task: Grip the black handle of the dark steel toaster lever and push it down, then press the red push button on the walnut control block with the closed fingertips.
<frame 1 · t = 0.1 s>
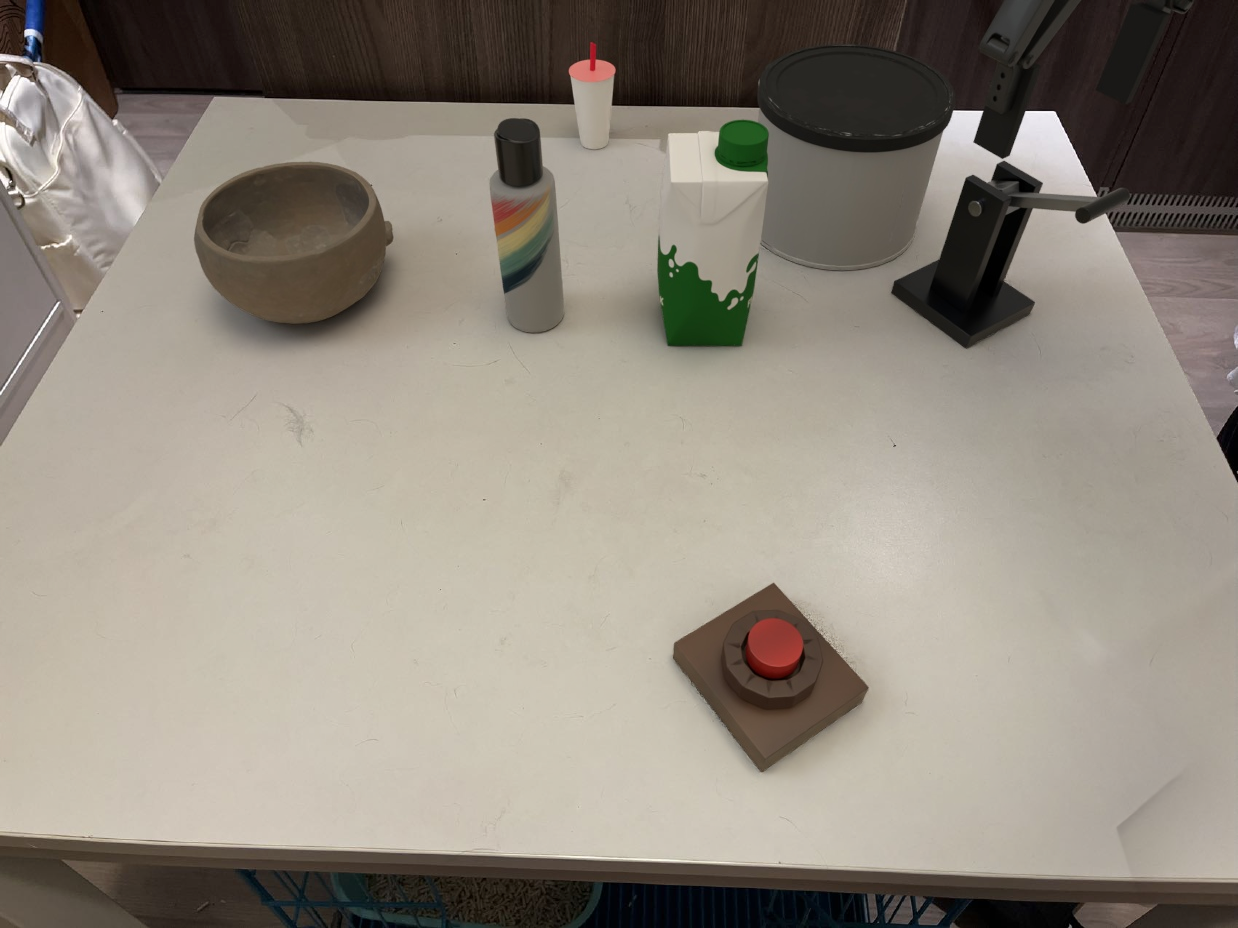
hand: (1054, 122, 66), 23 cm above the table, tool pointing down, fingers open, 13 cm apart
milk carton: (701, 323, 87), on the table
red push button: (773, 648, 59), point 4 cm above the table, slide at 0.1 cm
bowl: (313, 292, 91), on the table
control block: (766, 679, 63), on the table
toaster bracket: (959, 303, 89), on the table
lotion bottle: (536, 316, 88), on the table
container: (829, 220, 98), on the table
toaster lever: (1043, 201, 76), point 14 cm above the table, hinge at 25.0°
cup: (594, 143, 109), on the table
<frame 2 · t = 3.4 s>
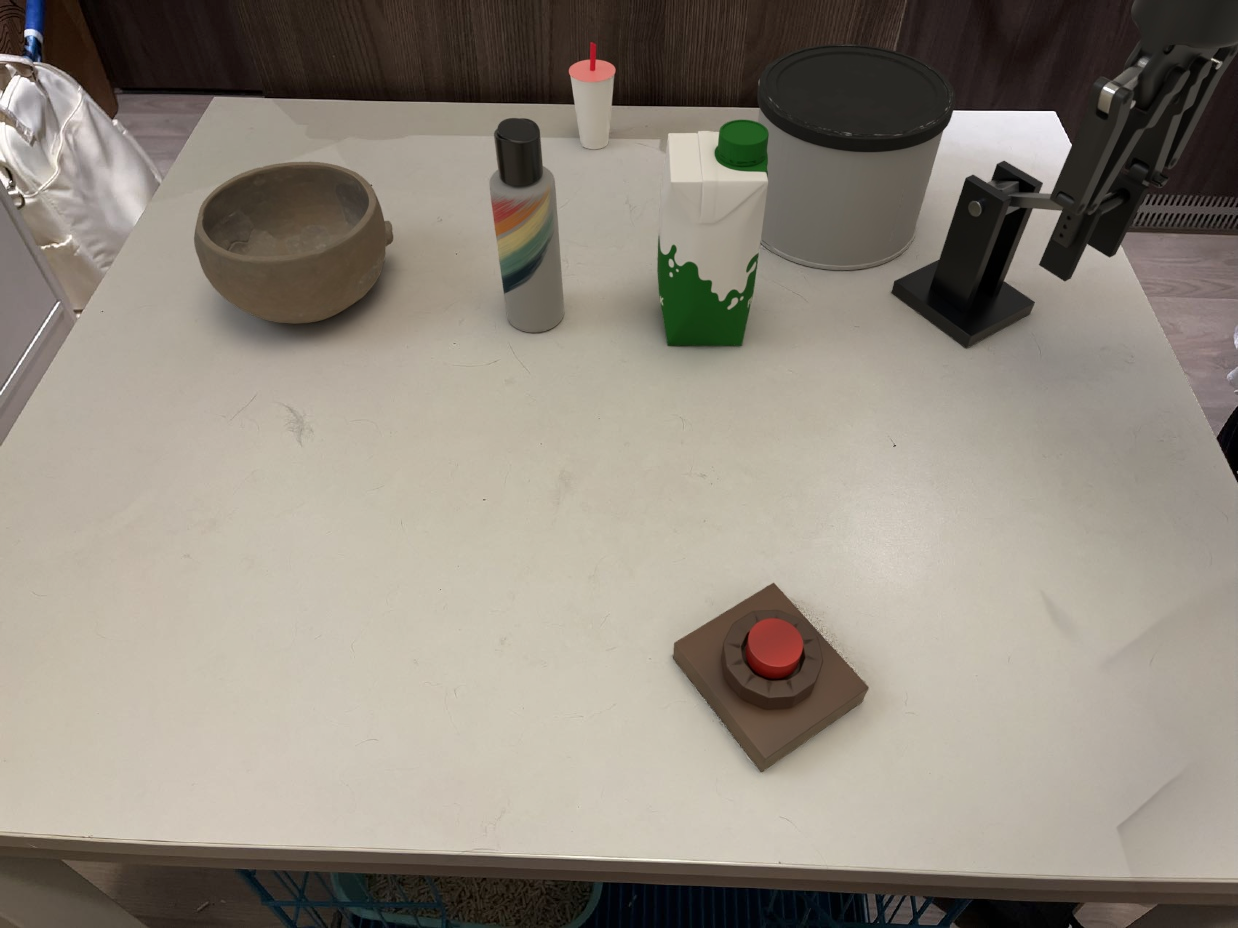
hand: (1077, 259, 75), 11 cm above the table, tool pointing down, fingers closed on toaster lever, 5 cm apart
toaster lever: (1043, 201, 76), point 14 cm above the table, hinge at 25.0°, touching gripper
everything else where it was.
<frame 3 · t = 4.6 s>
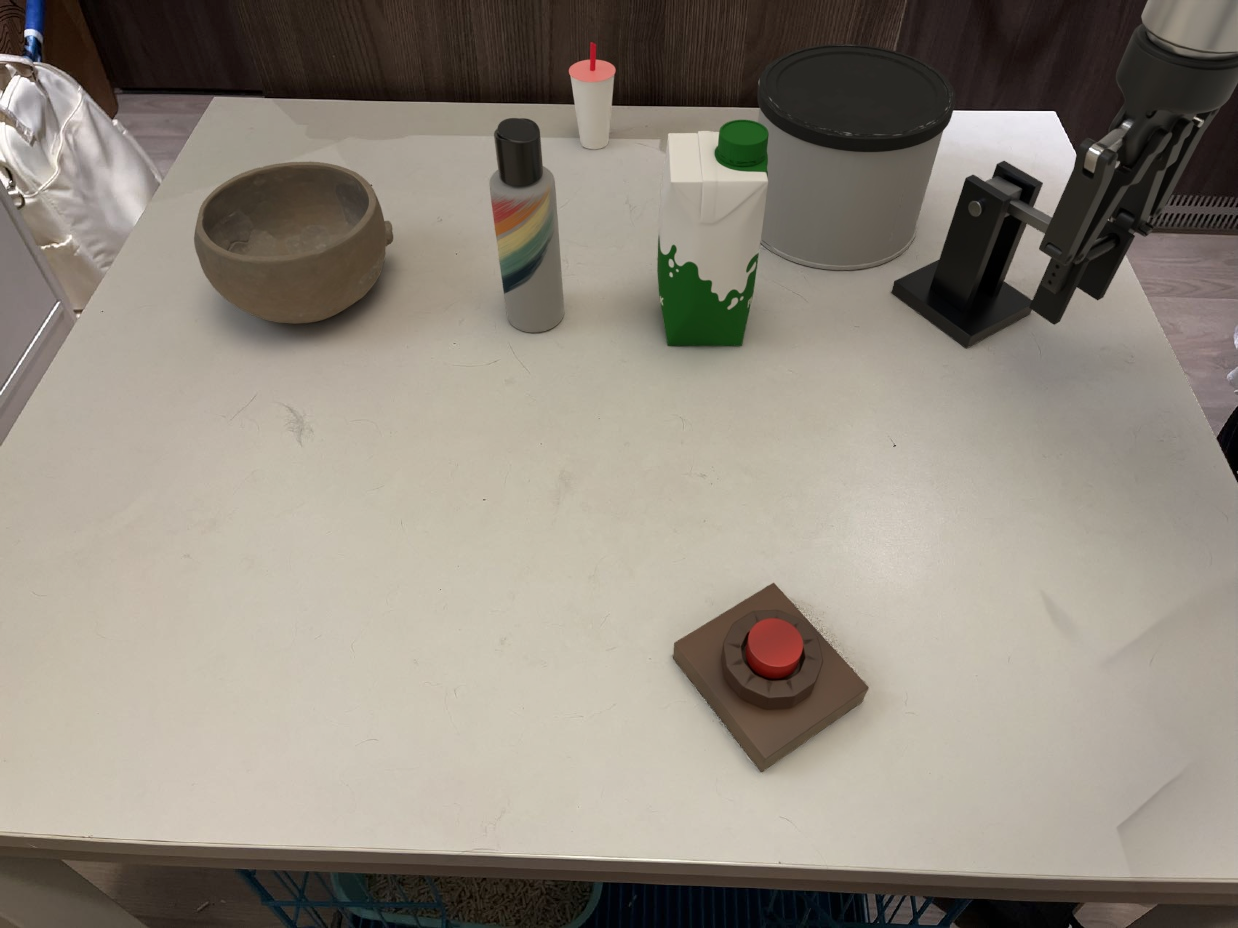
hand: (1066, 302, 78), 7 cm above the table, tool pointing down, fingers closed on toaster lever, 5 cm apart
toaster lever: (1040, 221, 77), point 12 cm above the table, hinge at 2.6°, touching gripper
everything else where it was.
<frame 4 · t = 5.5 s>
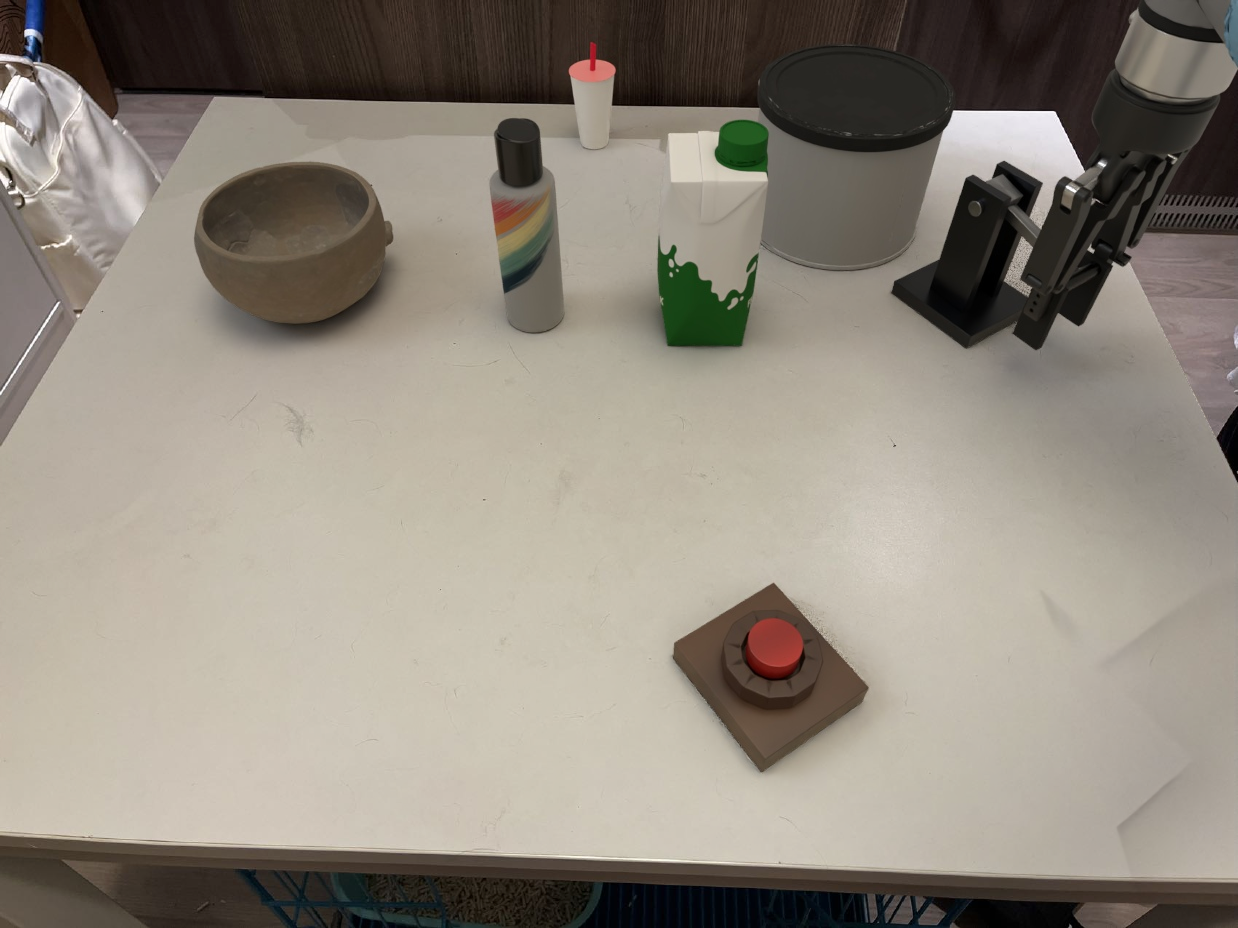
hand: (1048, 328, 81), 3 cm above the table, tool pointing down, fingers closed on toaster lever, 5 cm apart
toaster lever: (1033, 234, 78), point 11 cm above the table, hinge at -15.6°, touching gripper
everything else where it was.
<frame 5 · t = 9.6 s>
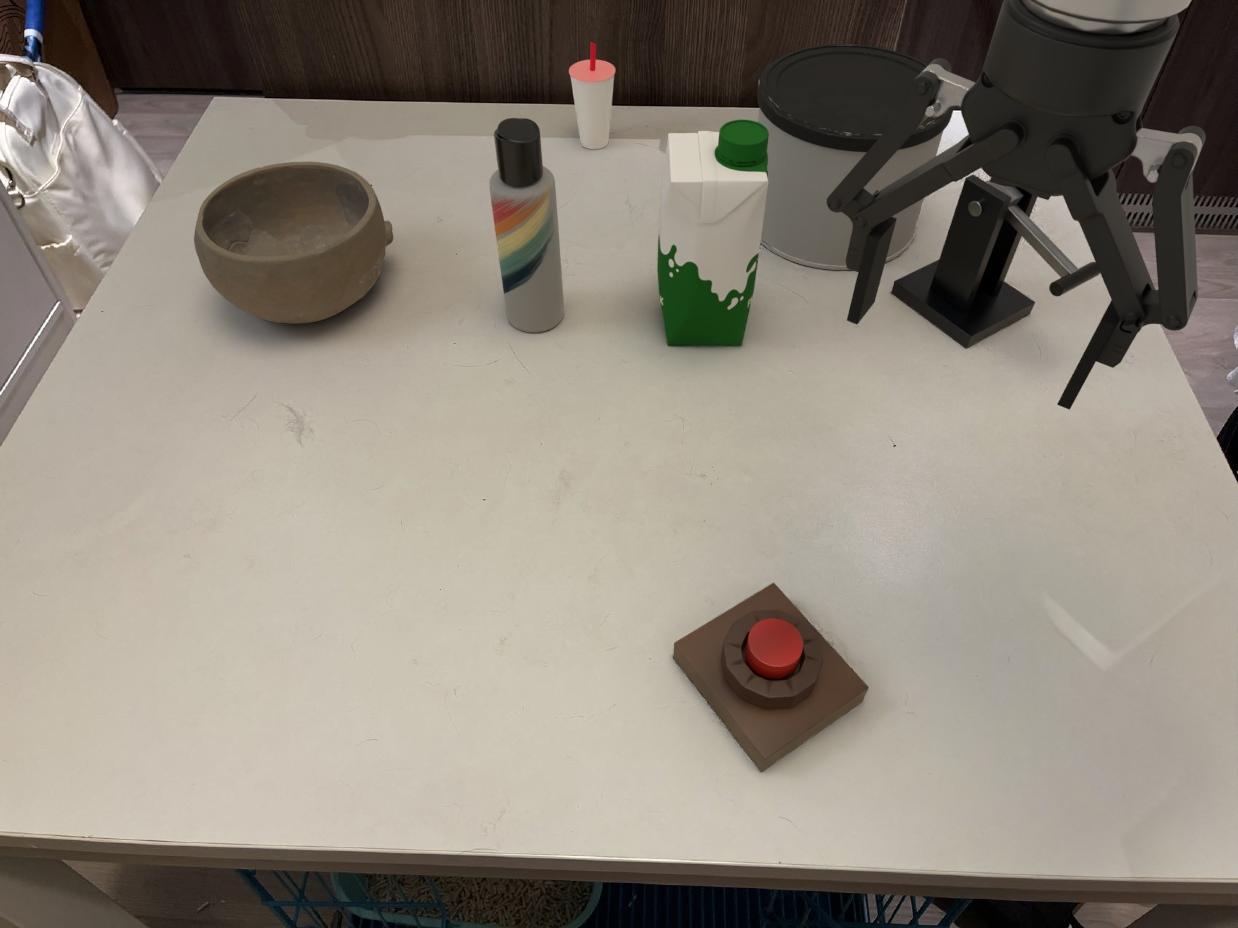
hand: (960, 351, 56), 19 cm above the table, tool pointing down, fingers open, 13 cm apart
toaster lever: (1032, 234, 78), point 11 cm above the table, hinge at -15.8°
everything else where it was.
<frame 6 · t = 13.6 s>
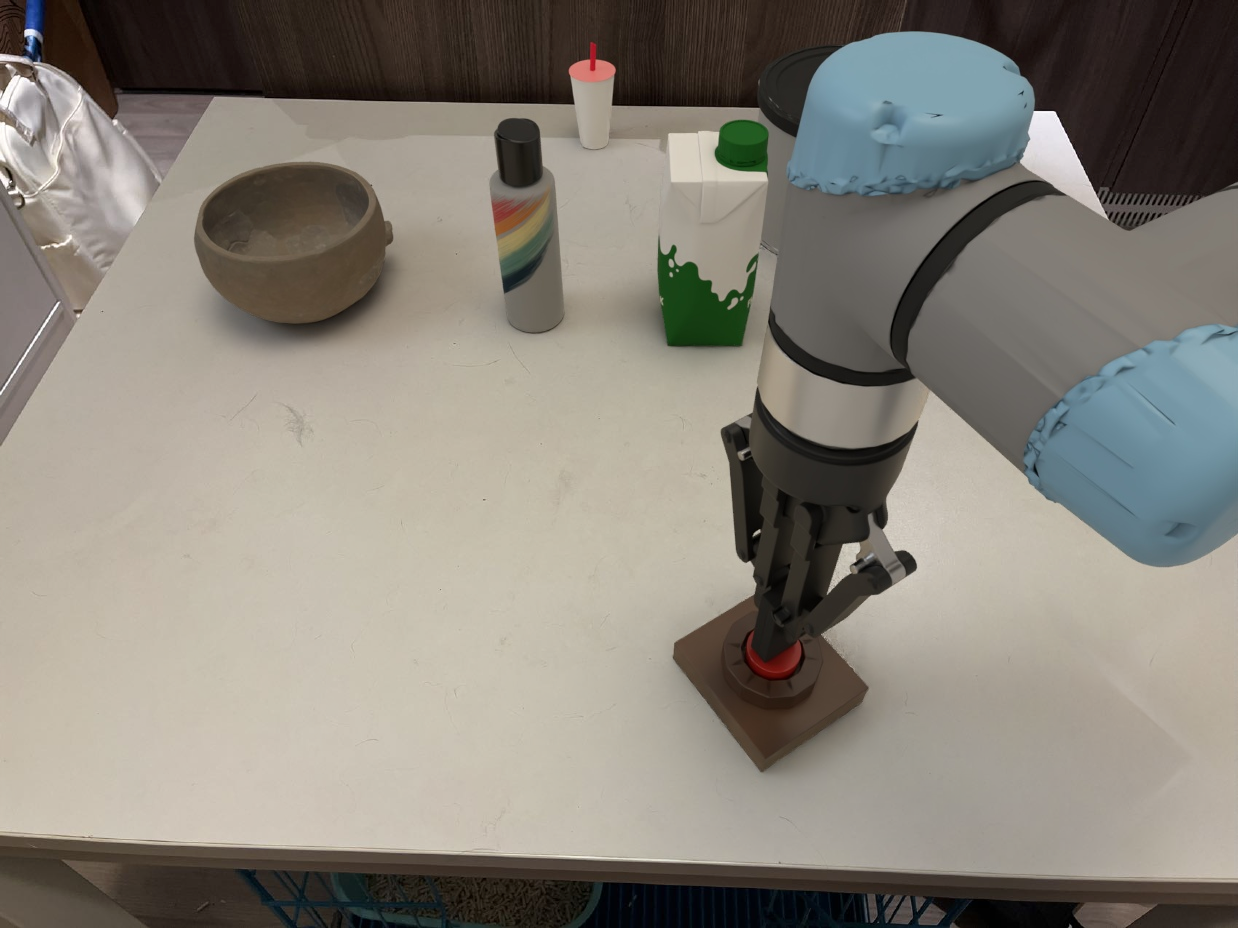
hand: (773, 644, 59), 5 cm above the table, tool pointing down, fingers closed
red push button: (772, 653, 60), point 4 cm above the table, slide at -0.7 cm, touching gripper
everything else where it was.
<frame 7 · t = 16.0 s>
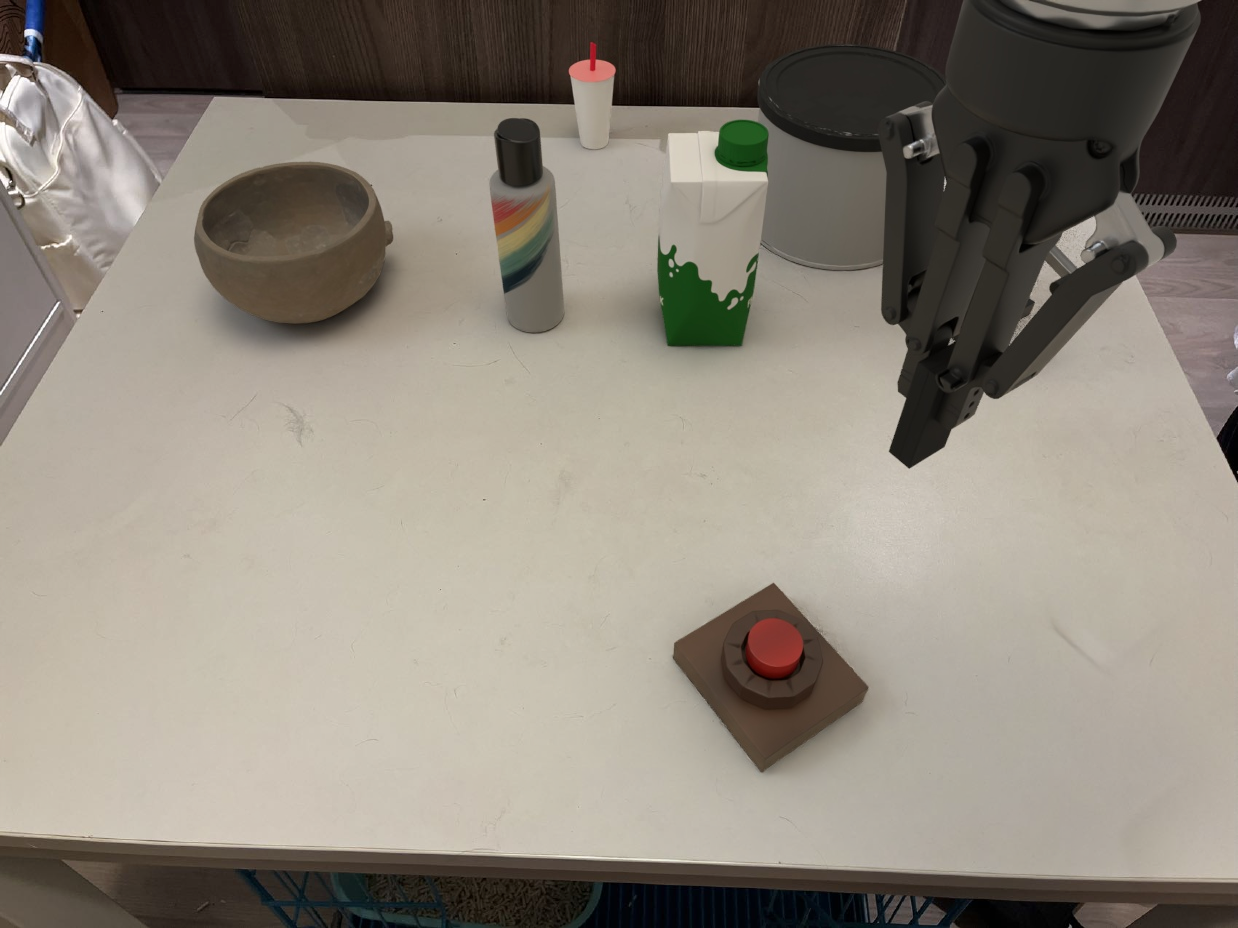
hand: (916, 449, 48), 22 cm above the table, tool pointing down, fingers closed
red push button: (773, 648, 59), point 4 cm above the table, slide at 0.1 cm
everything else where it was.
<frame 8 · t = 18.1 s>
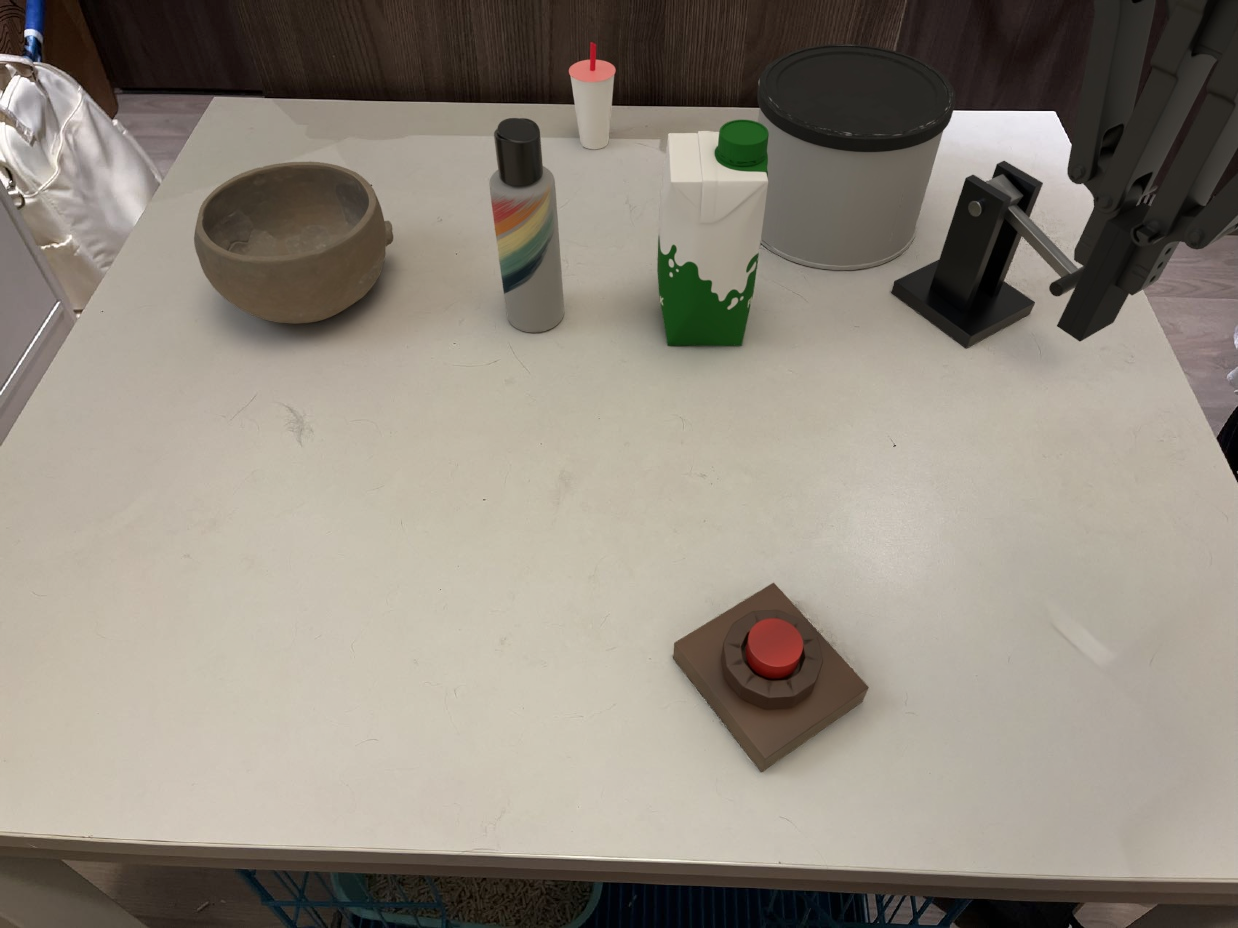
hand: (1085, 324, 47), 26 cm above the table, tool pointing down, fingers closed
nothing on the table moved.
at the end: toaster lever at -16° (first picture: +25°); red push button pushed in 1.0 cm at the most during the clip, back to where it started at the end; red push button slide at 0.1 cm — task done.
